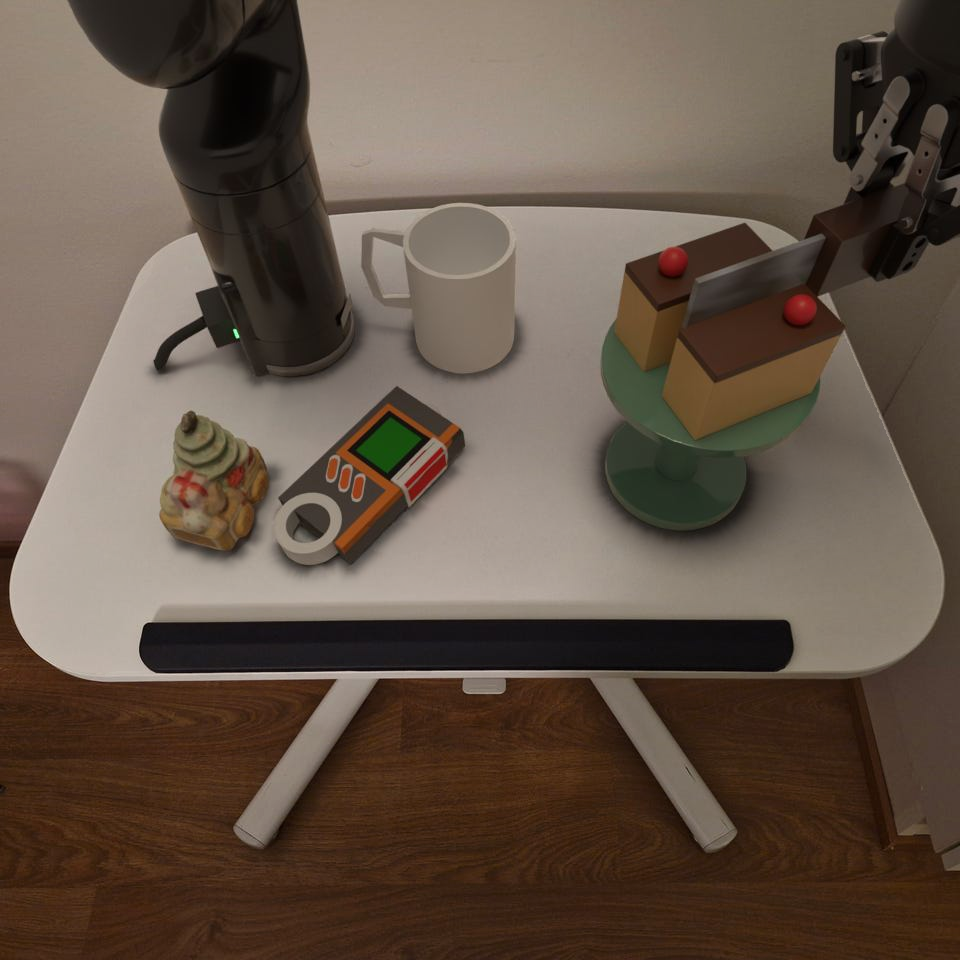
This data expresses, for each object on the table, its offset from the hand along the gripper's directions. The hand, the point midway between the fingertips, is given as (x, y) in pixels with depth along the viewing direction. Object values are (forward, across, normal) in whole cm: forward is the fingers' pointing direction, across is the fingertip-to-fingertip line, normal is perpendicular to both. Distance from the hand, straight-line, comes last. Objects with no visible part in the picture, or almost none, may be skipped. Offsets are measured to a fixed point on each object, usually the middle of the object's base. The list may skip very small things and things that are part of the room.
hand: (868, 257), depth 46 cm
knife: (0, 0, -5) cm, 5 cm away
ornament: (+17, -11, -41) cm, 45 cm away
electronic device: (+17, -8, -31) cm, 36 cm away
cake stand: (+16, 0, -10) cm, 19 cm away
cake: (+4, 0, -10) cm, 11 cm away
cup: (+17, -20, -20) cm, 33 cm away
